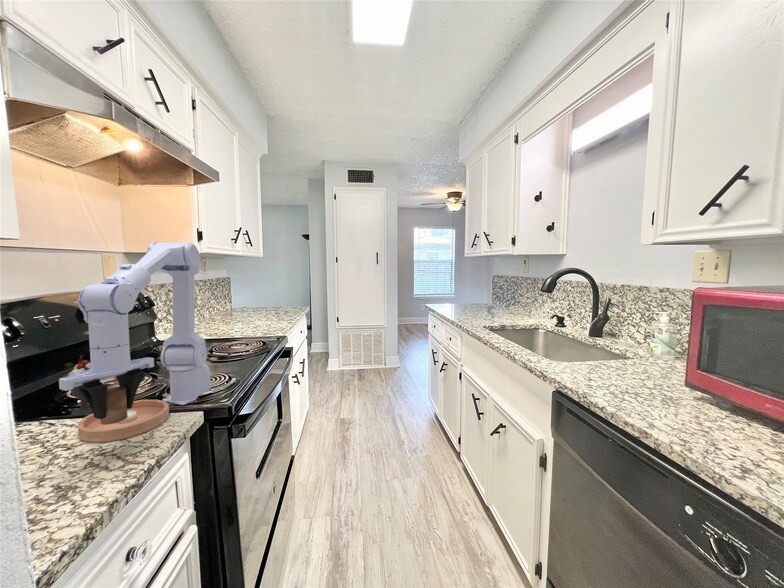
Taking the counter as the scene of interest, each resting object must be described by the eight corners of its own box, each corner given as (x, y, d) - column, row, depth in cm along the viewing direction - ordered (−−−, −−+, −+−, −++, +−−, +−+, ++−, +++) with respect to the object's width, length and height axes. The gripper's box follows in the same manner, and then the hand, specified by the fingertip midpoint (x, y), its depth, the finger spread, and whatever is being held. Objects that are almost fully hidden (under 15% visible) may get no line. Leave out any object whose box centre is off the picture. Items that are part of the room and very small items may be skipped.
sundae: (79, 419, 75) (75, 358, 74) (58, 415, 76) (54, 356, 75) (109, 407, 81) (106, 351, 80) (89, 404, 83) (86, 350, 81)
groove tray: (140, 405, 83) (140, 396, 83) (183, 414, 78) (183, 405, 78) (61, 434, 68) (60, 423, 68) (108, 449, 63) (107, 437, 62)
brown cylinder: (119, 413, 63) (117, 385, 63) (132, 416, 62) (130, 388, 62) (95, 422, 60) (93, 392, 59) (108, 426, 58) (107, 395, 58)
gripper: (137, 336, 68) (140, 395, 69) (46, 352, 54) (52, 426, 55) (159, 338, 66) (162, 400, 67) (71, 356, 52) (76, 433, 53)
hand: (113, 412), depth 61 cm, fingers closed on brown cylinder, 4 cm apart
